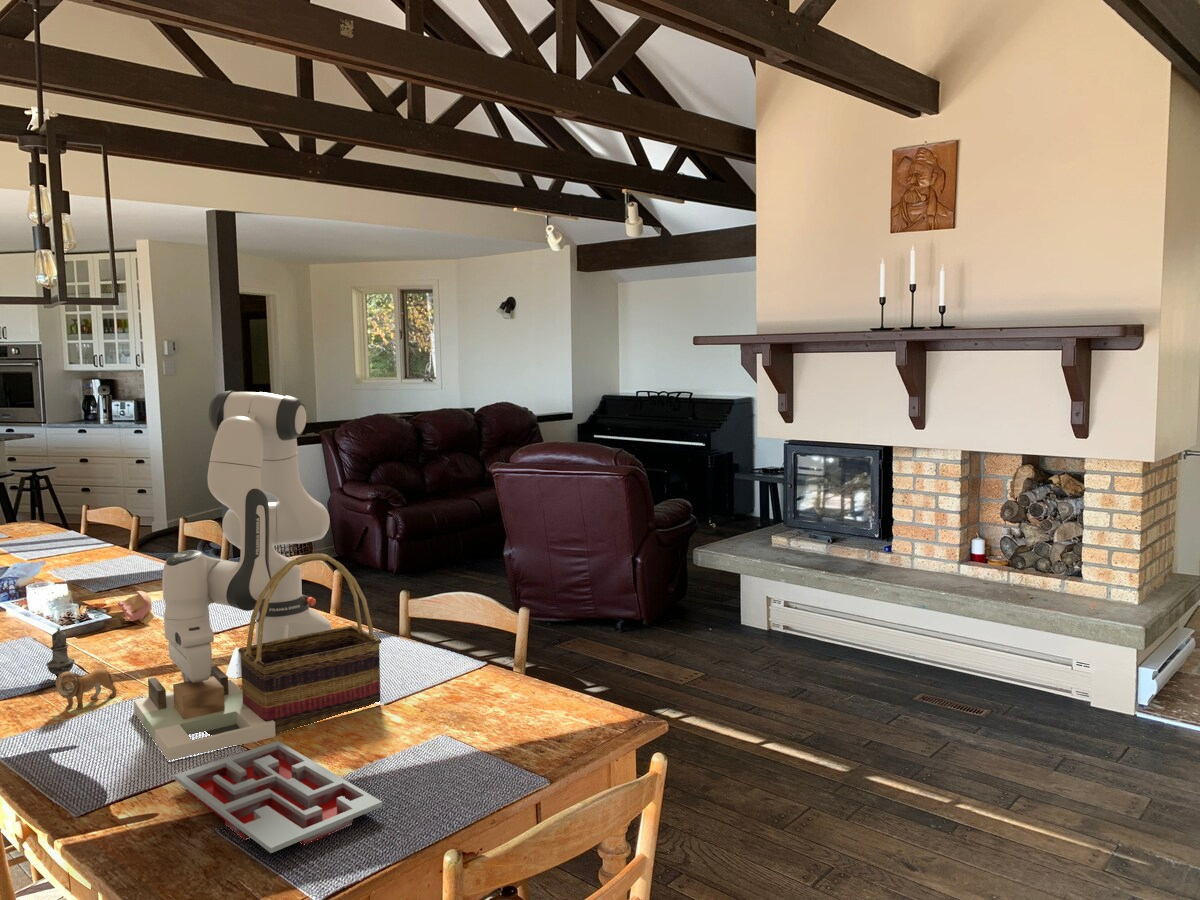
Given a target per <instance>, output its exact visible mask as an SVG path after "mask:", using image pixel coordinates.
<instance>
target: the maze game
mask: <svg viewBox="0 0 1200 900" xmlns="http://www.w3.org/2000/svg"><path fill="white" fill-rule="evenodd" d="M173 780H174V781H175V782H177V783H178V784H179V785H181V786H182V787H183V788H185V790H186V792H187V793H188V792H189V793H190V794H189V793H188V794H189V795H191V796H192V795H193V796H194V797H193V796H192V797H193V798H195V799H196V800H197V799H198V800H197V801H199V802H200V803H201V804H202V805H204V806H205V807H206V808H208V809H210V810H211V811H212V812H213V813H214V814H216V815H217V816H218V817H219V818H221V819H222V820H224V822H225V825H227V826H229V827H230V828H231V829H232V830H234V831H235V832H236V833H237V834H239V835H240V836H241V837H242V838H244V839H246V838H249V837H250V838H251V840H253V841H255V843H257V844H258V845H260V846H261V847H262V848H263V849H265V851H267V852H268V853H270V854H272V853H276V852H277V851H280V850H282V849H285V848H287V847H289V846H291V845H295V844H297V843H298V842H301V843H302V844H303V845H304V844H307V843H309V842H311V841H315V840H317V839H319V838H321V837H324V836H326V835H328V834H329V833H332V832H334V831H336V830H338V829H340V828H342V827H344V826H346V825H348V824H350V823H352V822H353V823H354V819H355V818H358V817H360V816H363V815H365V814H367V813H369V812H372V811H375V810H377V809H379V808H382V807H383V801H382V800H380V799H378V798H377V797H376V796H373V795H371V794H370V793H368V792H366V791H365V790H364V789H361V788H360V787H358V786H356V785H355V784H353V783H351V782H349V781H348V780H346V779H344V778H343V777H341V776H339V775H337V774H335V773H334V772H332V771H331V770H329V769H327V768H326V767H324V766H323V765H320V764H318V763H317V762H315V761H313V759H310V758H308V757H306V756H305V755H303V754H302V753H300V752H298V751H297V750H294V749H293V748H292V747H290V746H288V745H286V744H284V743H283V742H281V741H280V740H275V741H274V742H270V743H266V744H264V745H260V746H258V747H254V748H252V749H249V750H244V751H243V752H240V753H239V752H238V753H236V754H233V755H230V756H226V757H225V758H221V759H218V760H215V761H212V762H209V763H205V764H202V765H200V766H196V767H194V768H191V769H188V770H187V769H186V770H185V771H181V772H178V773H176V774H173ZM343 796H345V797H346V798H348V799H350V800H351V801H350V800H348V799H346V798H345V797H343ZM326 837H327V836H326ZM324 838H325V837H324ZM319 840H320V839H319ZM317 841H318V840H317ZM315 842H316V841H315ZM303 845H302V846H303Z"/></svg>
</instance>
